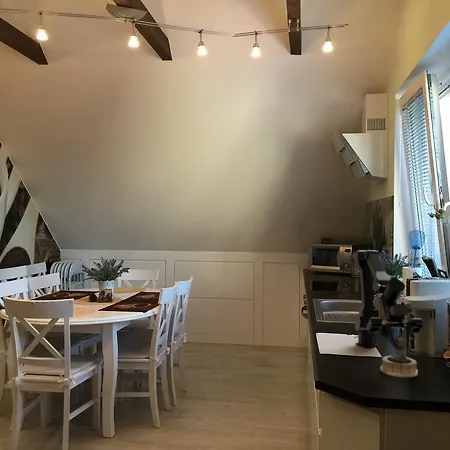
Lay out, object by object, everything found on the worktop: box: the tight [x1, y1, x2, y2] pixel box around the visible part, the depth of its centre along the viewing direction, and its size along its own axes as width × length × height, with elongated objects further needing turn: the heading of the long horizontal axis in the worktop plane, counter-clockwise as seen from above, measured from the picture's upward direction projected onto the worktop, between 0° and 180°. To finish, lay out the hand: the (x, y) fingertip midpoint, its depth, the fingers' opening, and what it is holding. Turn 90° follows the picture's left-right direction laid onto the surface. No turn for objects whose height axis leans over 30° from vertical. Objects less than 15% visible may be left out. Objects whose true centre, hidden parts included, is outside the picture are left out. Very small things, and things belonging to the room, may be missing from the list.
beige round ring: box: [380, 355, 419, 379], centre depth 172 cm, size 12×12×4 cm
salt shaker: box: [390, 333, 409, 364], centre depth 172 cm, size 6×6×12 cm
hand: (401, 346), depth 170 cm, fingers open, 4 cm apart
